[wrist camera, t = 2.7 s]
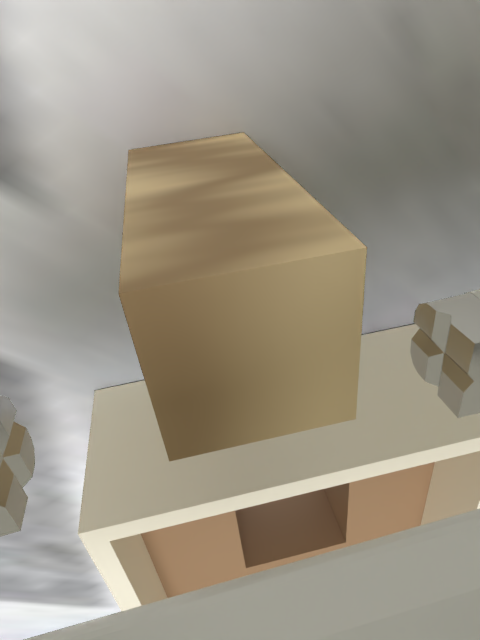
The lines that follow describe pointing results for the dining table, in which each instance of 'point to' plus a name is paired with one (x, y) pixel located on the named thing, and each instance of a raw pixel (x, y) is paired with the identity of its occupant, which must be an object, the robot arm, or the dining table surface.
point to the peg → (237, 296)
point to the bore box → (272, 483)
